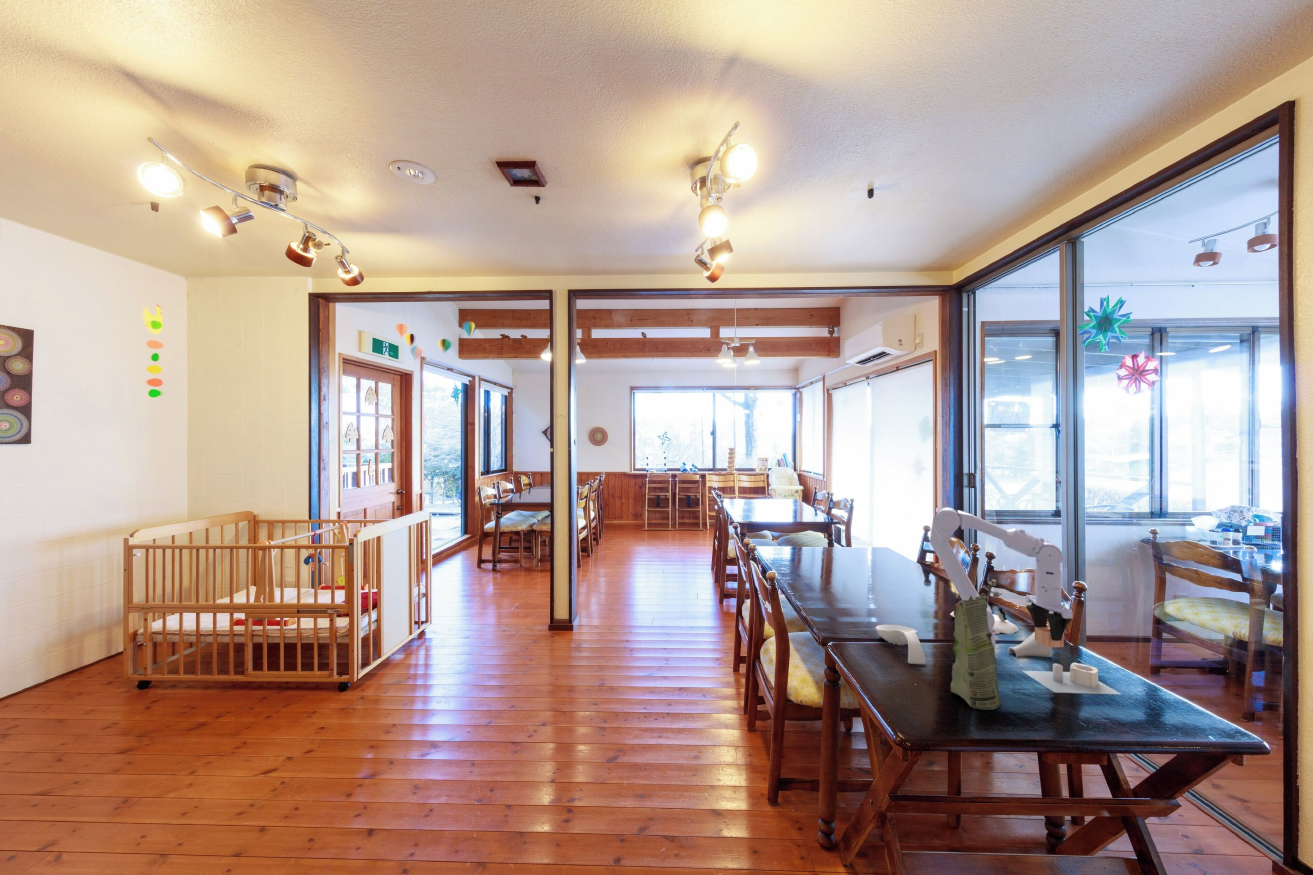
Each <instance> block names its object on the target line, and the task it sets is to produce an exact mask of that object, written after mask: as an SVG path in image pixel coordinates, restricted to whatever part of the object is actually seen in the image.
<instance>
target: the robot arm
mask: <svg viewBox="0 0 1313 875" xmlns="http://www.w3.org/2000/svg"><path fill="white" fill-rule="evenodd" d="M959 527H960V528H961V530H968V529H969V530H970V529H973V530H976V531H979V532H981V533H983V534H986V535H988V536H991V537H993V538H995V539H999V540H1001V541H1002V542H1003V544H1004V547H1006V548H1008V549H1010V550H1012V551H1015V552H1017V553H1020V554H1022V555H1025V556H1027V557H1029V558H1035V568H1034V591H1035V592H1034V594H1026V596H1025V600H1026V601H1025V602H1027V603H1029V604H1027V605H1025V606H1026V609H1027V611H1028V612H1029V614H1030V617H1031V619H1032V622H1033V625H1034V628H1035V627H1036V628H1038V627H1047V626H1049V628H1050V634H1051V639H1052V640H1053V641H1061V639H1062V636H1063V637H1064V633H1065V630H1066V628H1067V626H1068V625H1069V624H1070V622H1072V620H1073V619H1074V618H1073V616H1074V615H1073V610H1070V609H1069V608H1067V607H1066V603H1064V602H1062V571H1061V568H1062V566H1061V564H1062V563H1063V561H1064V558H1065V557H1064V555H1063V553H1062V551H1061V549H1060V548H1059V547H1058V546H1056V545H1055V544H1054V543H1052V542H1050V541H1049V540H1045V539H1044V538H1042V537H1036V536H1033V535H1031V534H1029V533H1026V530H1025V529H1022V528H1019V529H1017V528H1011V529H1004V527H1003V528H1002V527H1001V526H998V525H996V524H994V523H992V522H990V521H988V520H985V519H983V518H980V517H978V516H977V515H976V516H975V515H974V514H971V513H968V512H966V511H963V510H959V509H958V510H956V509H954V508H953V507H950V506H949V507H948V506H944V507H940V508H939V509H938V510H937V511H936V513H935V514H934V517H933V519H932V523H931V530H930V539H929V543H930V545H931V547H932V549H933V550H934V553H935V554H936V555H937V556H936V557H938V559H939V561H940V563H941V565H942V567H943V569H944V570H945V572H946V574H947V575H948V577H949V579H950V581H951V583H952V584H953V586H954V588H955V590H956V591H957V593H958V595H959V596H960V599H961V600H969V598H970V596H972V598H973V600H974V599H975V597H979V596H980V595H981V594H980V593H978V591H977V590H976V588H975V586H974V585H973V582H972V580H971V579H970V578H969V575H968V574H967V572H966V571H965V569H964V566H963V565H962V563H961V562H960V560H959V557H958V556H957V555H956V552H955V551H954V550H953V548H952V546H951V544H950V543H949V542H950V540H951V537H952V535H953V533H954V532H956V530H958V528H959ZM987 606H988V608H987V610H986V611H987V616H988V617H987V619H988V627H989V630H990V632H991V634H992V636H991V640H992V644H993V646H994V651H995V652H996V634H995V627H994V623H995V619H994V616H993V615H992V614H993V610H992V608H991V605H989V603H988V604H987ZM1050 612H1051V613H1050ZM1047 622H1048V625H1047Z"/></svg>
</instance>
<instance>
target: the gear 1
mask: <svg viewBox="0 0 1313 875" xmlns="http://www.w3.org/2000/svg"><path fill="white" fill-rule="evenodd" d="M1034 632H1035V641H1036V642H1038V643H1040V644H1041V645H1045V646H1046V647H1052V648H1064V635H1063V636H1062V639H1061V641H1053V640H1052V639H1051V634H1050V627H1047V626H1046V627H1038V628H1036V627H1035V626H1034Z"/></svg>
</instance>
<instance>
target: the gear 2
mask: <svg viewBox="0 0 1313 875" xmlns="http://www.w3.org/2000/svg"><path fill="white" fill-rule="evenodd" d="M1079 664H1080V663H1077V662H1072V663H1071V664H1070V667H1069V672H1070V681H1072V682H1076V683H1078V684H1082V685H1085V686H1091V687H1096V686H1097V685H1098V681H1099V669H1098V668H1096V667H1093V666H1092V665H1087V664H1086V665H1087V666H1089V671H1085V670H1082V669H1079ZM1082 664H1083V663H1082ZM1083 665H1085V663H1084V664H1083Z"/></svg>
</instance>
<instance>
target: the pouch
mask: <svg viewBox="0 0 1313 875" xmlns="http://www.w3.org/2000/svg"><path fill="white" fill-rule="evenodd" d="M979 595H980V596H979V597H975V599H974V600H973V598H972V596H970V598H969V600H962V599H961V600H959V601H957V603H955V604H953V608H954V610H953V611H954V616H955V617H953V618H954V631H953V634H952V636H953V637H954V645H953V646H952V652H953V654H954V655H955V662H954V663H953V664H952V666H951V670H952V671H951V677H952V679H951V683H950V692H951V693H954V694H956V695H957V696H959V697H961V698H962V699H964V701H965V702H966V703H967V704H968V705H969V707H971V708H972V709H977V710H984V711H985V710H986V711H988V710H995V709H997V708H999V707H1000V705H1001V704H1002V703H1001V696H1000V691H999V681H998V675H997V668H996V667H997V660H996V650H995V651H994V646H993V644H992V640H991V636H992V634H991V632H990V630H989V627H988V619H987V617H988V616H987V611H986V610H987V608H988V606H987V598H986V597H987V595H986V593H984V592H982V593H981V594H979Z"/></svg>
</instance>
